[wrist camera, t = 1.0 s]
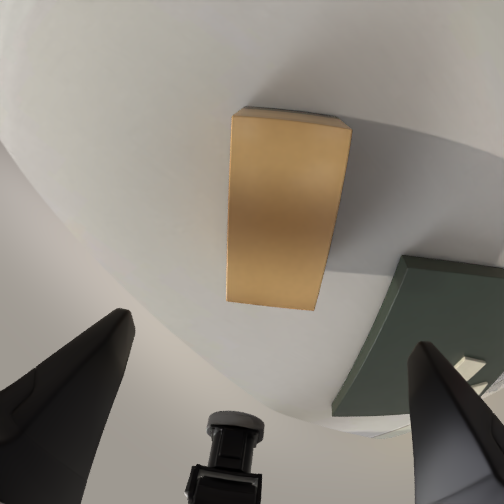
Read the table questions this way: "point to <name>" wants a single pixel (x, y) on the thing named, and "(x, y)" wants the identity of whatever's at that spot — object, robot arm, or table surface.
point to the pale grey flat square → (479, 387)
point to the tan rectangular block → (282, 204)
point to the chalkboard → (427, 332)
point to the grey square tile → (469, 367)
